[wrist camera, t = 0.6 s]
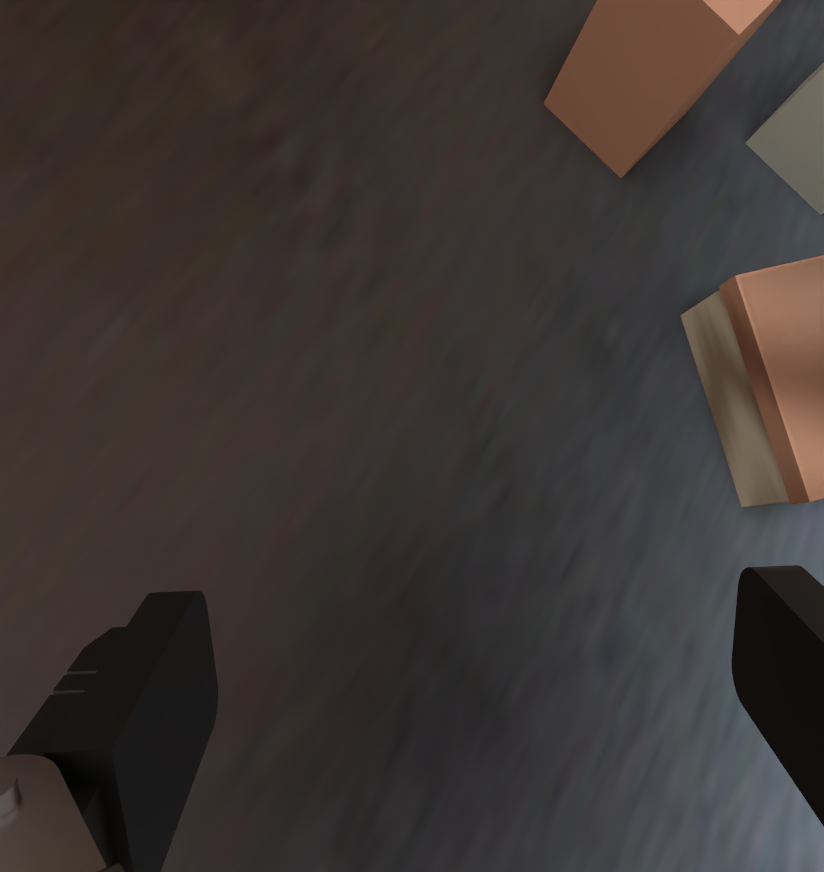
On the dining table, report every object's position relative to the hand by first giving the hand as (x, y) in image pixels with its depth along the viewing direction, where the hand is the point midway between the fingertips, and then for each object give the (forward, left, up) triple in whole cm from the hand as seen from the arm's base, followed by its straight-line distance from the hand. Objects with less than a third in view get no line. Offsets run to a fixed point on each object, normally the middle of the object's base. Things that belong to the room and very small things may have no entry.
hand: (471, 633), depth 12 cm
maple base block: (-3, +21, -20) cm, 30 cm away
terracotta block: (-18, +17, -20) cm, 32 cm away
